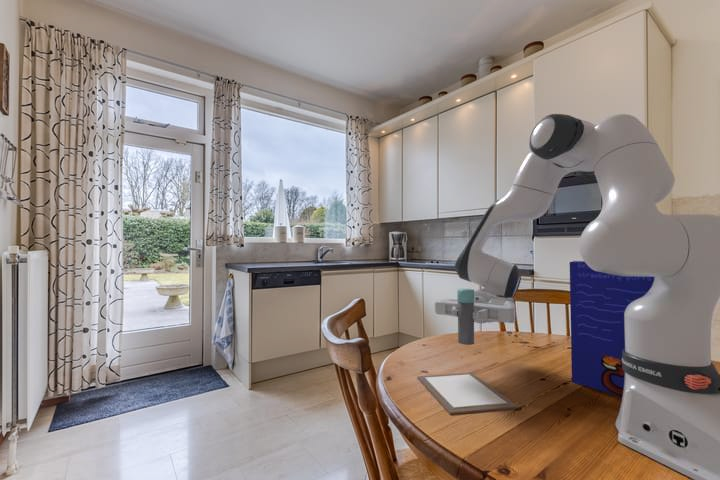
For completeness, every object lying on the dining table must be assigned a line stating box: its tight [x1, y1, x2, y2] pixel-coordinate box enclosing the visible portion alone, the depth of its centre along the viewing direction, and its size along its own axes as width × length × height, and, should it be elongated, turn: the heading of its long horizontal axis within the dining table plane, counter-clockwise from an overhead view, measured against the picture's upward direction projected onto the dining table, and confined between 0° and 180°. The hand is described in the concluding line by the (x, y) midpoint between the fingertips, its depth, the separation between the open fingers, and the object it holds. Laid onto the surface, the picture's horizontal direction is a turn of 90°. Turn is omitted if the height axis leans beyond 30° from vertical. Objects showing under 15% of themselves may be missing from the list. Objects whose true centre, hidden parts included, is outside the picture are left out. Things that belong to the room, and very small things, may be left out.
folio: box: [416, 372, 519, 415], centre depth 77 cm, size 19×15×1 cm
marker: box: [456, 288, 475, 346], centre depth 82 cm, size 4×4×13 cm
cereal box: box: [569, 260, 655, 398], centre depth 76 cm, size 22×6×30 cm, turn 36°
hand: (464, 314), depth 81 cm, fingers closed on marker, 4 cm apart
